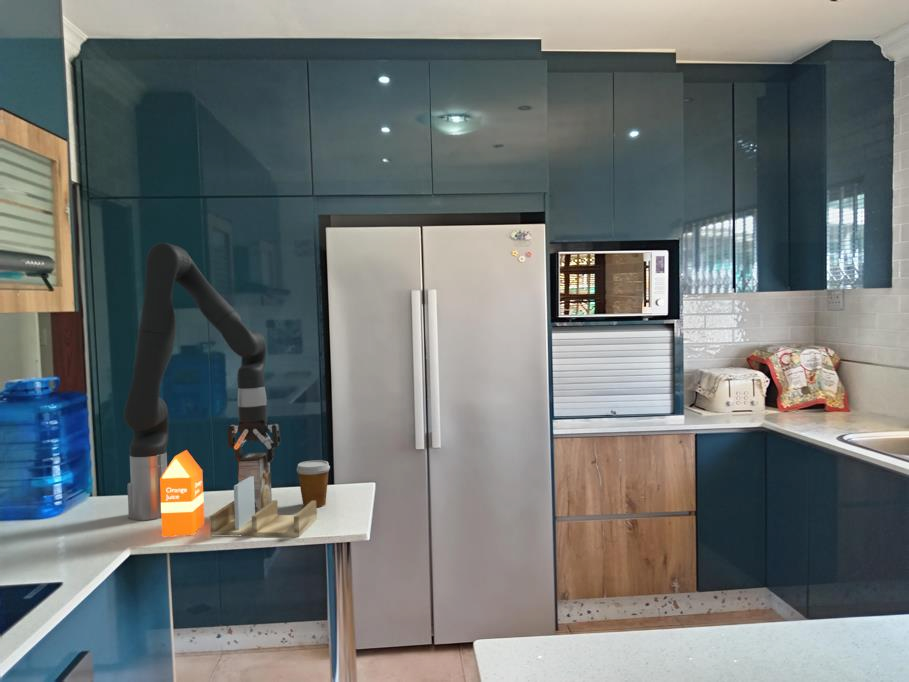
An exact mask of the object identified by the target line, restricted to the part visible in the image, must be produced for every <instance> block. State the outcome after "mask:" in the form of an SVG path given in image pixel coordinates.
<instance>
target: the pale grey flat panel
mask: <svg viewBox="0 0 909 682" xmlns="http://www.w3.org/2000/svg"><path fill="white" fill-rule="evenodd" d="M233 499H234V500H233V501H234V507H235V530H239V529H241V528H242V527H243V526H244V525H246V524H247V523H248V522H250V521H251V520H252V516H253V515H254V514H255V497H254V476H250V477H248V478H246V479H245V480H243V481H241V482H240V483H237V484H235V485H234V486H233Z"/></svg>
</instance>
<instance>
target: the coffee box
mask: <svg viewBox="0 0 909 682" xmlns="http://www.w3.org/2000/svg"><path fill="white" fill-rule="evenodd" d="M250 476H254V497H255V513H257V512H258V511H259V510H261V509H262V508H263V507H265V506H266V505H267V504H269V503H270V502H271V501H273V500H272V499H273V498H272V497H273V496H272V473H271V462H267V452H248V453H246V454H245V455H243V457H242V458H240V459H238V463H237V479H238V481H237V482H238V483H240V482H241V481H243V480H245V479H246V478H248V477H250ZM238 483H237V484H238Z"/></svg>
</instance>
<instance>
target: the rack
mask: <svg viewBox="0 0 909 682" xmlns="http://www.w3.org/2000/svg"><path fill="white" fill-rule="evenodd" d="M278 506H279V505H278V500H277V499H274V500H272V501H271V502H270V503H269V504H267V505H266V506H265V507H263V508H262V509H261V510H259V511H258V512H257V513H255V514H254V515H253V516H252V520H251V521H250V522H248V523H247V524H246V525H244V526H243V527H242V528H241V529H239V530H235V507H234V500H232V501H231V502H230V503H227V505H225V506H224V507H222V508H220V509H218V510H217V511H216V512H214V513H213V514H210V516H209V519H210V523H209V525H210V536H211V535H241V536H240V537H271V536H276V537H277V538H278V537H281V538H282V537H287V538H288V537H289V538H291V537H292V538H293V537H295V538H298V537H301V536H302V534H303V533H304V532H306V531H307V530H308V529H309V528H310V527H311V526H312V525H313V523H314V522H316V521H317V519H318V514H317V513H318V512H317V511H318V510H317V508H316V501H315V500H312V501H311V502H310V503H308V504H307V505H306V506H305V507H304V506H303V508H302V509H301V510H299V511H298V512H297V513H296V514H294V515H293V514H291V515H290V514H279V512H278V511H279V510H278V508H279V507H278Z"/></svg>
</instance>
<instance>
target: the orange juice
mask: <svg viewBox="0 0 909 682" xmlns="http://www.w3.org/2000/svg"><path fill="white" fill-rule="evenodd" d="M203 480H204V479H203V469H202V468H201V467H200V465H199V463H197V462H196V461H195V459H194V458H193V456H192V455H191V454H190V453H189V451H188V449H186V450H184V451H181V452H180V453H179V454H176V455H174V457H173V459H172V460H171V462H170V463H169V465H167V469H166V471H165V472H164V474H163V475H162V477H161V478H160V489H161V516H162V517H161V537H162V536H170V537H175V536H174V535H191V534H192V535H193V534H194V533H195V532H196V531H197V530H198V529H199V528H200V527H201V526H202V525H203V524H204V525H205V512H204V511H205V509H204V508H205V507H204V506H205V505H204V501H205V500H204V481H203ZM204 525H203V526H204ZM203 526H202V527H203ZM202 527H201V528H202ZM201 528H200V529H201ZM200 529H199V530H200ZM199 530H198V531H199ZM198 531H197V532H198ZM197 532H196V533H197ZM196 533H195V534H196ZM195 534H194V535H195ZM194 535H193V536H194Z"/></svg>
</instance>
